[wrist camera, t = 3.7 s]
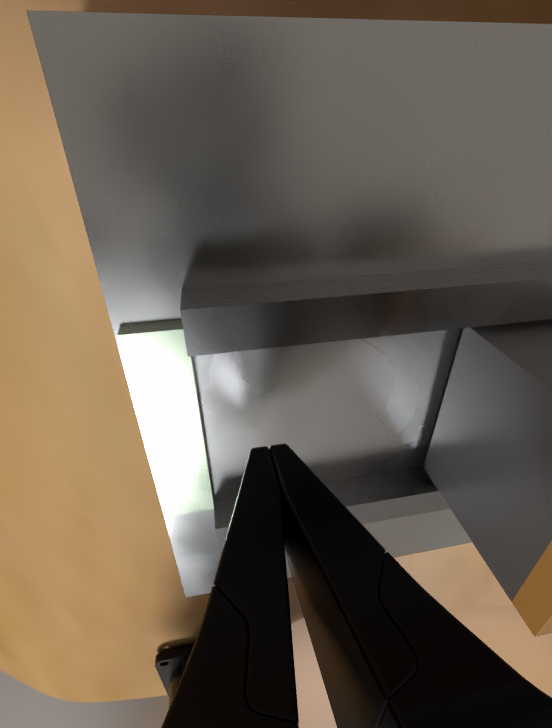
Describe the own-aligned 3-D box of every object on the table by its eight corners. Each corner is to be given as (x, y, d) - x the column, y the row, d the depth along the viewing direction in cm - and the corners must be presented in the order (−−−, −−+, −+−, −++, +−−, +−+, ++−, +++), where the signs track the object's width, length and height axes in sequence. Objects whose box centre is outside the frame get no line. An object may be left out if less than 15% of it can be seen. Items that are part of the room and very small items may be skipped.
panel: (589, 458, 19) (670, 528, 16) (186, 525, 17) (185, 627, 13) (838, 54, 11) (1126, 27, 7) (78, 43, 8) (-5, -9, 4)
